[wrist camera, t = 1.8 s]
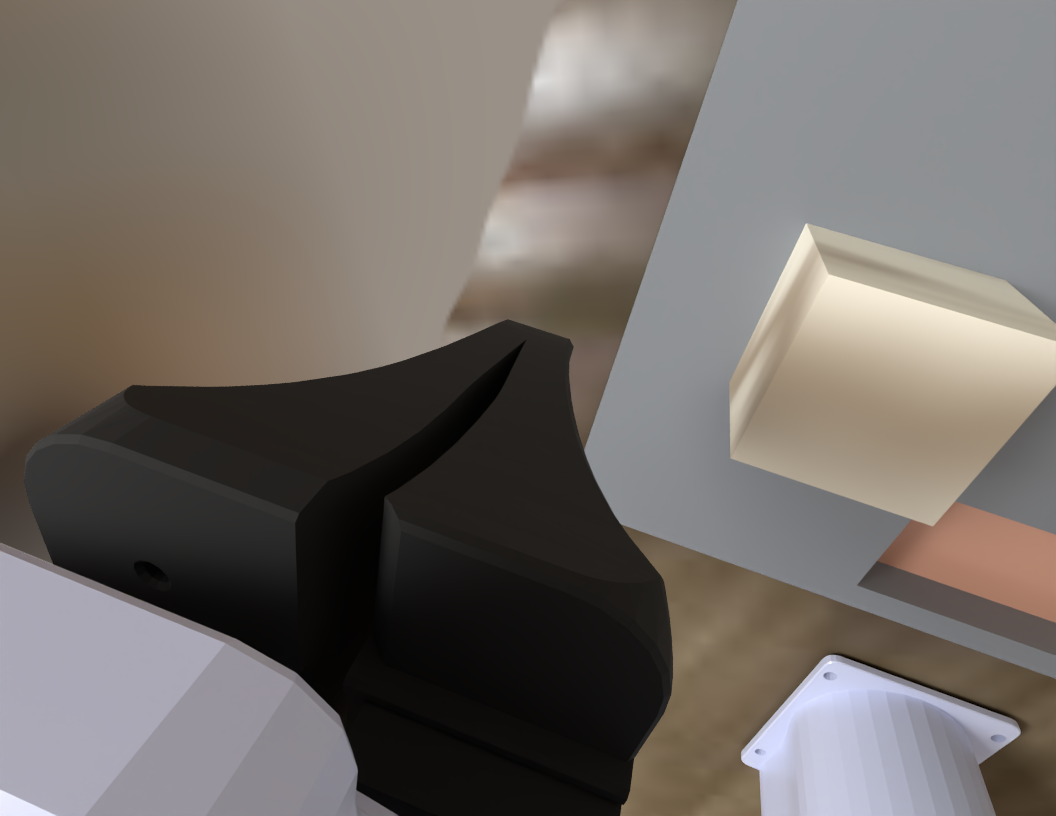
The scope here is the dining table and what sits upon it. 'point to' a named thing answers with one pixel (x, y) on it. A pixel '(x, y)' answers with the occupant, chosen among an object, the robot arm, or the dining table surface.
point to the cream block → (887, 374)
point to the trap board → (870, 214)
